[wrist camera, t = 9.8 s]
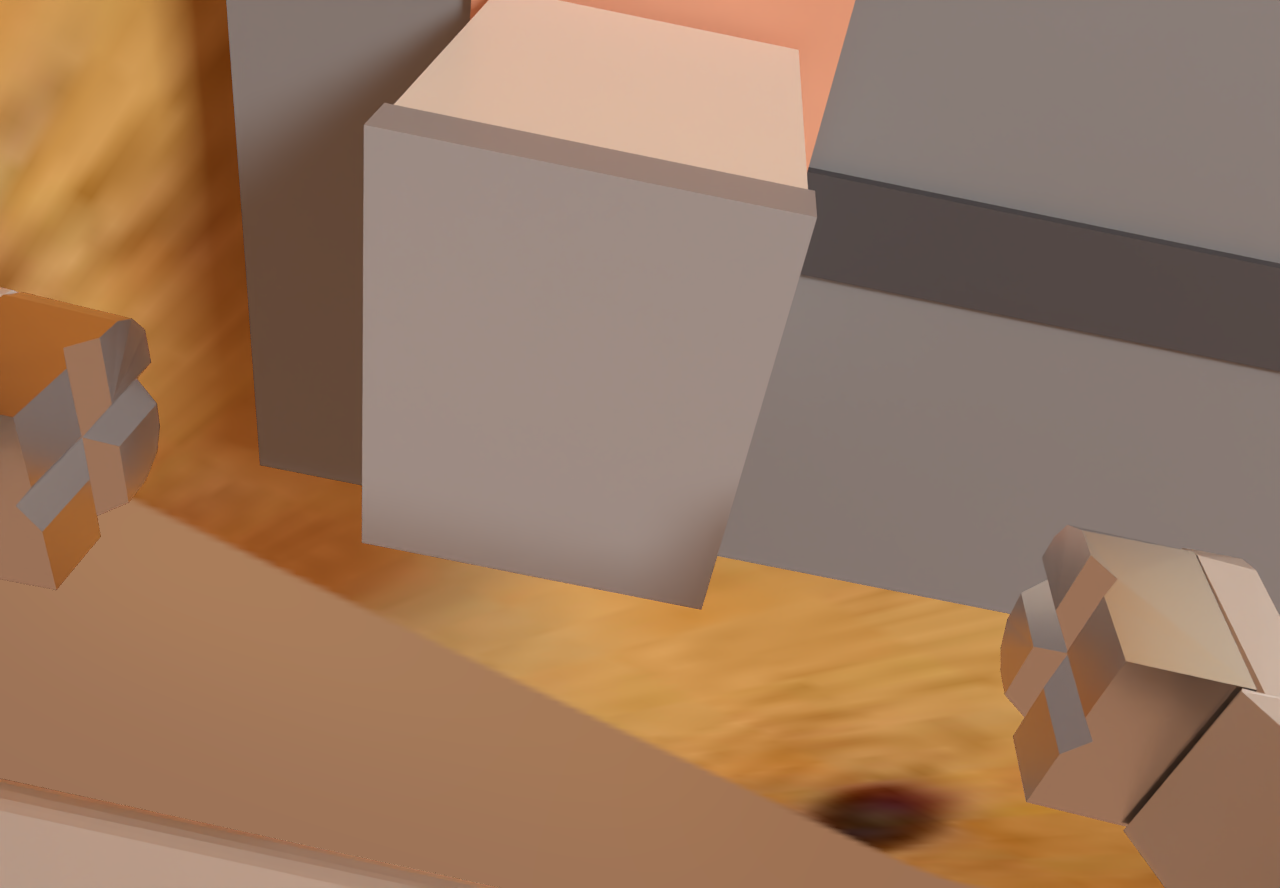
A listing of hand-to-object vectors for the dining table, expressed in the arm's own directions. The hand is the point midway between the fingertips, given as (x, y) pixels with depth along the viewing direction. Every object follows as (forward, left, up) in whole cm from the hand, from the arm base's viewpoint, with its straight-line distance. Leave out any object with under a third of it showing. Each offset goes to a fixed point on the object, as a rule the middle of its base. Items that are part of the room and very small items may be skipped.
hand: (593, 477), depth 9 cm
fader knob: (+1, 0, -7) cm, 7 cm away
